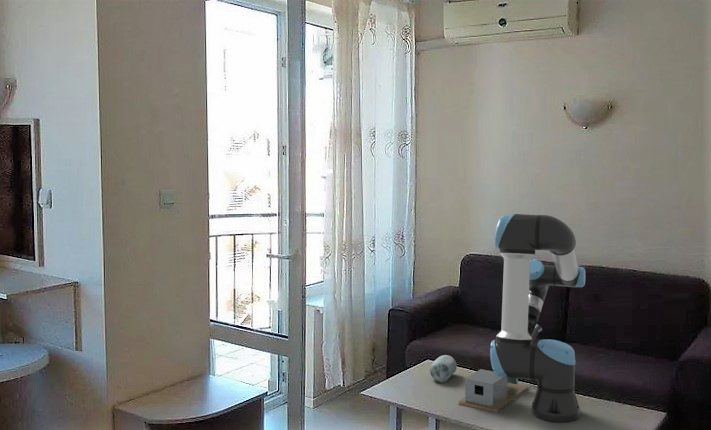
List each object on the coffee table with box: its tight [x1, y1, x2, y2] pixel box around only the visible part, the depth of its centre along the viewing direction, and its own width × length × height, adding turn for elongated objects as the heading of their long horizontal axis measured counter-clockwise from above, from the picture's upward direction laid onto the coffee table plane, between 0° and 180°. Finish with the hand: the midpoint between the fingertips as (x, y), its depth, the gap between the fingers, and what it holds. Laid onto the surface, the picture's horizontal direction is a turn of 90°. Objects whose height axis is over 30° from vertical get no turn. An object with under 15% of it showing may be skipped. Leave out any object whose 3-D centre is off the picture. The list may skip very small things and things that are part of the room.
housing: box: [458, 368, 529, 414], centre depth 244 cm, size 27×14×9 cm, turn 145°
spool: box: [429, 354, 458, 383], centre depth 263 cm, size 14×10×10 cm
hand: (513, 363), depth 257 cm, fingers closed
